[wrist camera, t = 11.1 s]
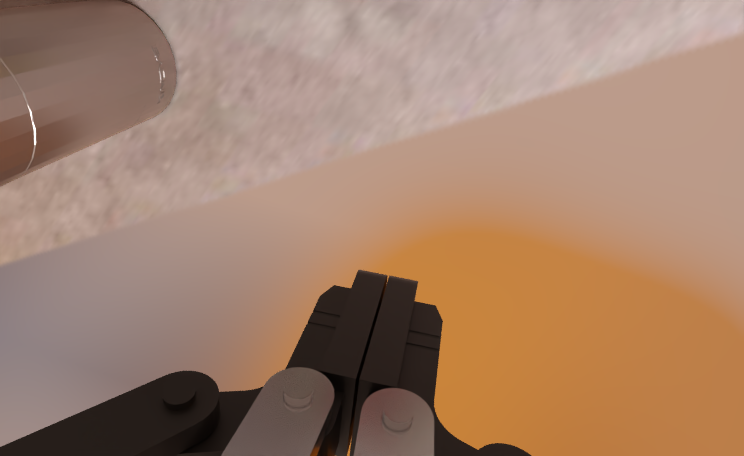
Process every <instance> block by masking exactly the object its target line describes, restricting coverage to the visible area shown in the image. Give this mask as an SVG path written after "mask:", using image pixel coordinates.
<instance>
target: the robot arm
mask: <svg viewBox="0 0 744 456" xmlns="http://www.w3.org/2000/svg"><path fill="white" fill-rule="evenodd" d="M175 87H176V66H175V60H174V57H173V54H172V51H171V48H170V45H169V44H168V42H167V40H166V38H165V36H164V35H163V33H162V32H161V30H160V29H159V28H158V26H157V25H156V24H155V23H154V21H153V20H151V19H150V18H149V17H148V16H147V15H146V14H145V13H144V12H142V11H141V10H139V9H138V8H136V7H134V6H133V5H131V4H128V3H126V2H123V1H120V0H89V1H78V2H64V3H53V4H43V5H32V6H22V7H11V8H0V187H1V186H3V185H5V184H7V183H9V182H12V181H14V180H16V179H18V178H20V177H22V176H24V175H27V174H29V173H31V172H33V171H36V170H38V169H40V168H42V167H44V166H47V165H49V164H51V163H53V162H55V161H58V160H60V159H62V158H64V157H67V156H69V155H71V154H73V153H75V152H78V151H80V150H82V149H84V148H86V147H89V146H91V145H93V144H95V143H98V142H100V141H102V140H104V139H106V138H109V137H111V136H113V135H115V134H118V133H120V132H122V131H125V130H127V129H129V128H131V127H133V126H135V125H138V124H140V123H142V122H144V121H146V120H149V119H151V118H153V117H155V116H157V115H158V114H160V113H161V112H163V110H164V109H165V108H166V107H167V106H168V105H169V103H170V101H171V99H172V97H173V95H174V91H175ZM417 284H418V281H413V280H409V279H404V278H399V277H394V276H389V279H388V282H387V275H383V274H378V273H373V272H368V271H362V270H358V272H357V275H356V278H355V280H354V282H353V285H352V288H351V289H350V288H345V287H340V286H335V285H334V286H333V287H331V288H330V289H329V290H327V291H326V292H325V293H323V294H322V295H321V296H320V297H319V299H318V302H317V304H316V306H315V308H314V310H313V313H312V315H311V316H310V319H309V321H308V324H307V325H306V327H305V329H304V331H303V333H302V335H301V337H300V340H299V342H298V344H297V346H296V348H295V350H294V352H293V354H292V357H291V359H290V361H289V363H288V365H287V367H286V369H285V370H282V371H280V372H278V373H276V374H275V375H273V376H272V377H271V378H270V379H269V380H268V381H267V382H266V384H265V385H264V387H261V388H258V389H254V390H248V391H229V392H219V389H218V386H217V384H216V383H215V381H214V380H213V379H211V378H210V377H209V376H208V375H205V374H203V373H200V372H196V371H180V372H175V373H171V374H168V375H165V376H163V377H161V378H158V379H156V380H154V381H151V382H149V383H147V384H145V385H142V386H140V387H138V388H136V389H133V390H131V391H129V392H126V393H124V394H122V395H119V396H117V397H115V398H112V399H110V400H108V401H105V402H103V403H101V404H99V405H96V406H94V407H92V408H89V409H87V410H85V411H82V412H80V413H78V414H76V415H73V416H71V417H68V418H66V419H64V420H62V421H59V422H57V423H55V424H52V425H50V426H48V427H45V428H43V429H41V430H38V431H36V432H34V433H32V434H30V435H27V436H25V437H22V438H21V439H18V440H16V441H13V442H11V443H9V444H6V445H4V446H2V447H0V456H347V453H348V449H349V445H350V442H351V449H350V456H531V455H530V454H528V453H527V452H525V451H524V450H522V449H520V448H518V447H515V446H512V445H508V444H502V443H495V444H489V445H486V446H484V447H482V448H480V449H479V450H477V449H475V448H473V447H472V446H470V445H468V444H466V443H464V442H462V441H461V440H459V439H457V438H456V437H454V436H453V435H452V434H450V433H449V432H448V431H447V430H446V429H445V428H444V427H443V425H442V424H441V423H440V421H439V419H438V417H437V415H436V412H435V408H434V396H435V387H436V377H437V368H438V359H439V349H440V339H441V331H442V322H443V321H442V319H441V316H440V314H439V312H438V310H437V308H436V306H435V305H430V304H425V303H420V302H415V301H414V300H415V295H416V290H417ZM386 285H387V286H386ZM351 438H352V441H351Z"/></svg>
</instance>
